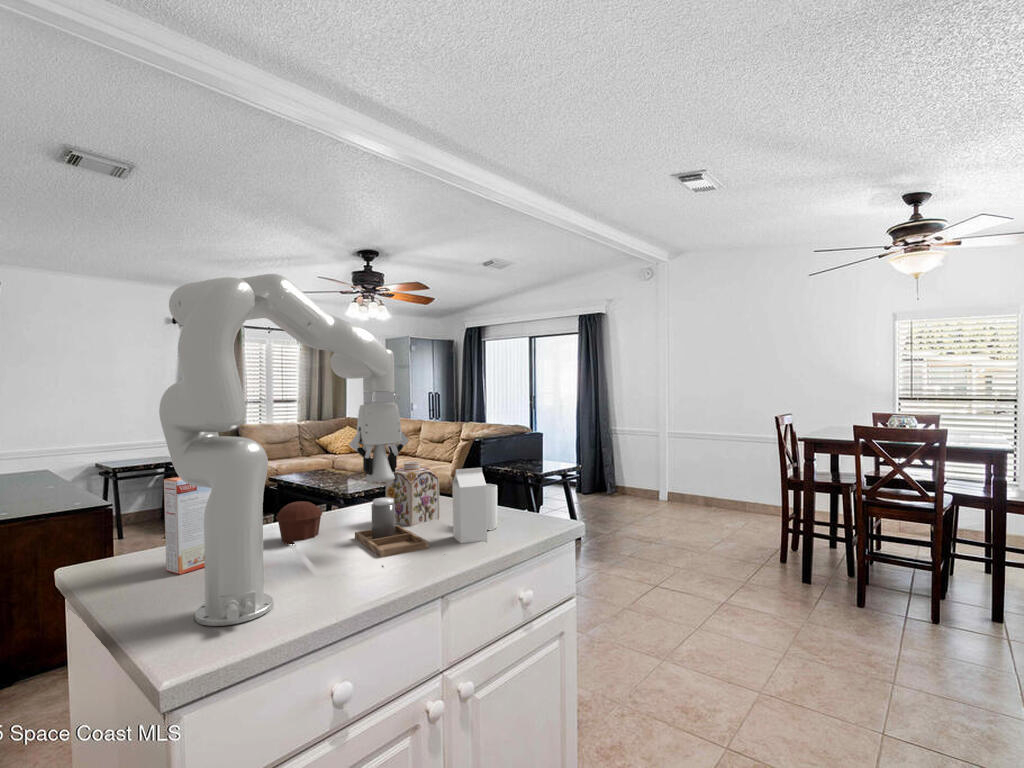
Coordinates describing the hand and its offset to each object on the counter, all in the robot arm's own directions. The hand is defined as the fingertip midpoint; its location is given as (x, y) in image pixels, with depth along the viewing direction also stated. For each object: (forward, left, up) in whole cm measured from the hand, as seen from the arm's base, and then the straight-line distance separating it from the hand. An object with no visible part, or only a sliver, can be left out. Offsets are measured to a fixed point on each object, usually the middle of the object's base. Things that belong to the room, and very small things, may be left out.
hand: (380, 471), depth 133 cm
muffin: (+23, +14, -20) cm, 34 cm away
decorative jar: (+22, -18, -20) cm, 35 cm away
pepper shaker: (+7, -3, -19) cm, 20 cm away
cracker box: (+15, +37, -20) cm, 45 cm away
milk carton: (-6, -22, -20) cm, 30 cm away
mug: (+5, -32, -20) cm, 38 cm away
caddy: (+2, -3, -20) cm, 20 cm away
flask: (0, 0, -2) cm, 2 cm away
